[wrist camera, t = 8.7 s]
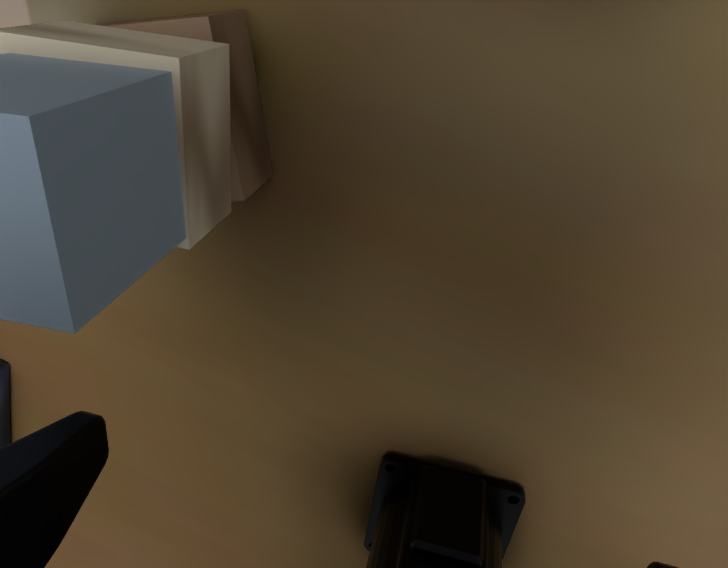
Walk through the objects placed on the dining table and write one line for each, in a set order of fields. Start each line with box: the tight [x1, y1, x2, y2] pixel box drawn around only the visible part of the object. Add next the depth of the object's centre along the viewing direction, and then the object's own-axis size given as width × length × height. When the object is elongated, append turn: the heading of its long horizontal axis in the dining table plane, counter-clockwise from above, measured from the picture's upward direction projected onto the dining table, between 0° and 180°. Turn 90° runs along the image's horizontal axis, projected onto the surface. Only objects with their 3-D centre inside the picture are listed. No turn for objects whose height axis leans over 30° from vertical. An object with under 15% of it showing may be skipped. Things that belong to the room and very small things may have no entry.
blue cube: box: [0, 53, 186, 333], centre depth 14 cm, size 4×4×5 cm
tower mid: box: [0, 20, 231, 250], centre depth 17 cm, size 5×5×3 cm
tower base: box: [94, 10, 273, 201], centre depth 20 cm, size 6×6×3 cm
